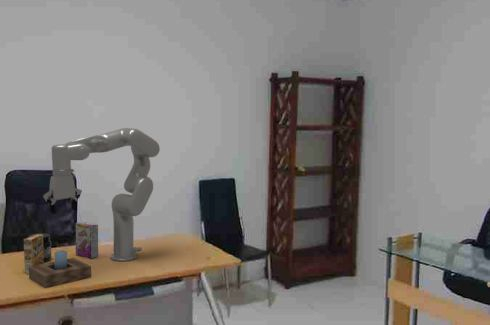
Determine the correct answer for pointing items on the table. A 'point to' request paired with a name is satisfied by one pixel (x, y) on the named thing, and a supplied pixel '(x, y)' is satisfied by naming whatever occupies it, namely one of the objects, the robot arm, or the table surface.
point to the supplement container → (46, 246)
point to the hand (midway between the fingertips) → (63, 211)
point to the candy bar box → (86, 239)
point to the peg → (60, 260)
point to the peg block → (59, 273)
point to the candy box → (33, 251)
